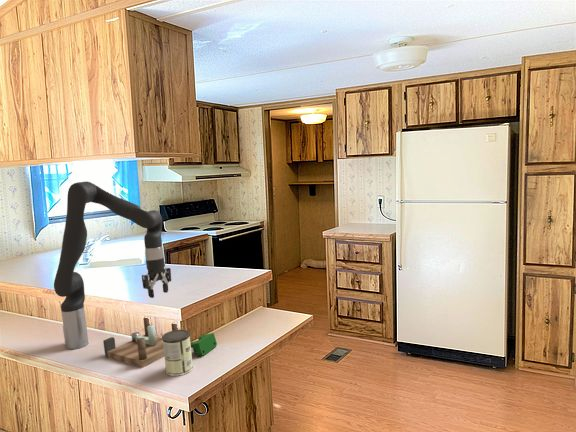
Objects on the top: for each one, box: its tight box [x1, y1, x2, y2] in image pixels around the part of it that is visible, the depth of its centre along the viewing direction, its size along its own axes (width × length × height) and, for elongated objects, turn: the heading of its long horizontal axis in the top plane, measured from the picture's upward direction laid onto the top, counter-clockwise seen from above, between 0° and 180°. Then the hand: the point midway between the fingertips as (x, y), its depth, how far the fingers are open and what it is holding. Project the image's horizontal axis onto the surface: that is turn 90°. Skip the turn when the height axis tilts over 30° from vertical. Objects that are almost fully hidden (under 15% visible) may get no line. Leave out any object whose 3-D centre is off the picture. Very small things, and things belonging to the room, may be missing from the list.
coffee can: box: [161, 329, 194, 377], centre depth 170 cm, size 10×10×14 cm
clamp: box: [190, 332, 218, 357], centre depth 187 cm, size 12×6×9 cm, turn 150°
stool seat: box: [102, 317, 178, 368], centre depth 190 cm, size 24×22×10 cm
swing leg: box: [131, 324, 157, 346], centre depth 193 cm, size 14×3×8 cm, turn 57°
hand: (158, 294), depth 192 cm, fingers open, 7 cm apart
